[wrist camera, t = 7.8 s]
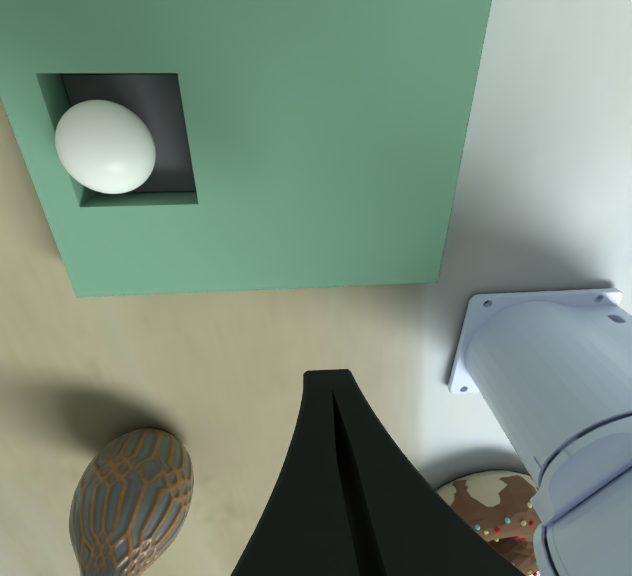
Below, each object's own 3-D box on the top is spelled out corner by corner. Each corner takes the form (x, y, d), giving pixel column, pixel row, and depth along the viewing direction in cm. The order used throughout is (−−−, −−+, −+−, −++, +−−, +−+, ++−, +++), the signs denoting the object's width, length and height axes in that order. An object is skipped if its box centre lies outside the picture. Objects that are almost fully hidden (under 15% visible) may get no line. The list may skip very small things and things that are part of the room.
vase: (81, 423, 26) (1, 573, 18) (181, 405, 26) (142, 548, 18) (125, 482, 29) (73, 627, 22) (213, 466, 29) (191, 606, 22)
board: (480, -67, 14) (507, -84, 13) (424, 264, 22) (437, 282, 20) (-30, -81, 13) (-75, -101, 11) (93, 277, 20) (76, 297, 19)
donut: (394, 477, 32) (412, 541, 28) (555, 444, 32) (598, 504, 28) (409, 556, 40) (424, 615, 36) (540, 529, 39) (571, 587, 35)
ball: (110, 89, 16) (158, 94, 14) (137, 171, 18) (182, 184, 16) (20, 106, 14) (64, 115, 12) (62, 196, 16) (106, 215, 14)
